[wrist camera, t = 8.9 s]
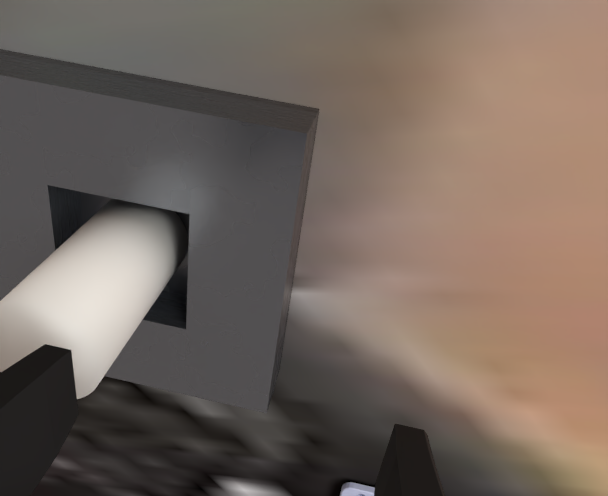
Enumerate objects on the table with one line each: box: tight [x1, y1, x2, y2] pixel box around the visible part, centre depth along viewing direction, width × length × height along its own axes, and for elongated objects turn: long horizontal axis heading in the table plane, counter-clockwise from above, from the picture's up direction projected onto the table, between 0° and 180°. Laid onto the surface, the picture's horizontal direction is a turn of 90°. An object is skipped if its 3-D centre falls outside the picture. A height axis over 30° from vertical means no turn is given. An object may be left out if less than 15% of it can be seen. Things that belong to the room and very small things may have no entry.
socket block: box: [0, 49, 319, 413], centre depth 21 cm, size 12×12×2 cm
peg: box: [0, 198, 188, 399], centre depth 19 cm, size 4×4×7 cm
